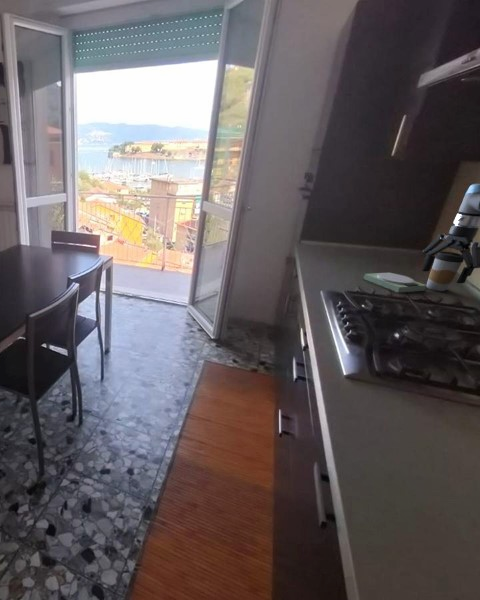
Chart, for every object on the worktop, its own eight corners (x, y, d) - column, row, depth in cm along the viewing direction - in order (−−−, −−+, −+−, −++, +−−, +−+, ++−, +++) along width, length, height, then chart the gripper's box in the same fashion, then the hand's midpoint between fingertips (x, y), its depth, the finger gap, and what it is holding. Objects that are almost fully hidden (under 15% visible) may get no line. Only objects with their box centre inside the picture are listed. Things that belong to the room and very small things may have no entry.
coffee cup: (446, 287, 150) (461, 252, 144) (452, 293, 144) (469, 258, 137) (420, 283, 154) (434, 250, 148) (425, 289, 147) (440, 255, 141)
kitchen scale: (424, 290, 147) (427, 283, 145) (397, 292, 145) (400, 285, 144) (388, 277, 161) (391, 270, 160) (363, 278, 159) (365, 272, 158)
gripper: (424, 219, 148) (405, 267, 157) (496, 234, 126) (468, 289, 135) (439, 218, 149) (419, 266, 158) (513, 233, 127) (485, 287, 136)
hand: (442, 276), depth 147 cm, fingers open, 13 cm apart
